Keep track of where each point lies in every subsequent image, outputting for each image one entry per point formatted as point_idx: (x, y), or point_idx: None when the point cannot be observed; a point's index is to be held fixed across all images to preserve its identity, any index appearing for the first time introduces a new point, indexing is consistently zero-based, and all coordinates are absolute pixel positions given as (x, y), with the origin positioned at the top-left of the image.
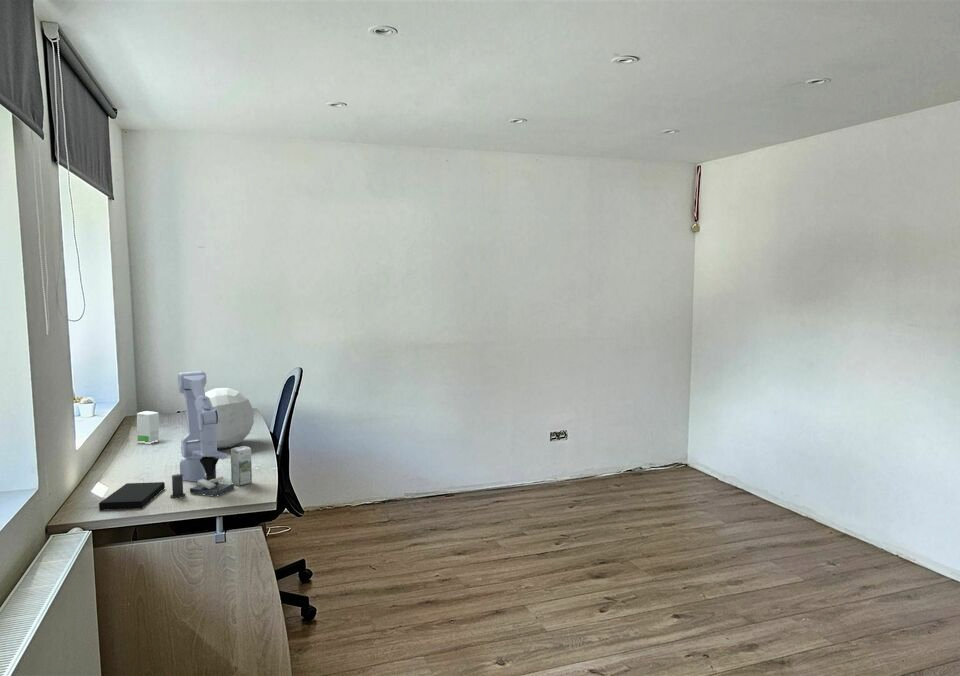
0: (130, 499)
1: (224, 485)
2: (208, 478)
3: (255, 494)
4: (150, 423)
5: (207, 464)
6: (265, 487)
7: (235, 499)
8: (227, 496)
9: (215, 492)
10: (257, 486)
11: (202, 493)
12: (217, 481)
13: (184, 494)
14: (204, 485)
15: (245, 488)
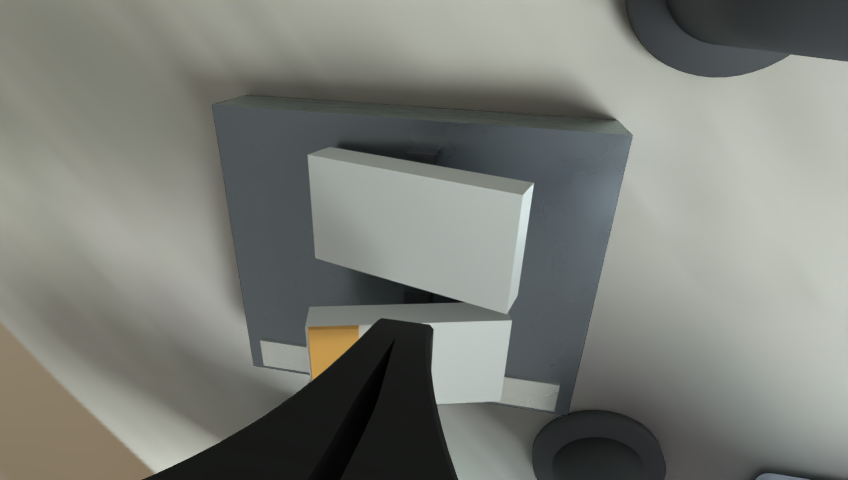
0: None
1: (298, 314)
2: (608, 474)
3: (10, 238)
4: None
5: (266, 469)
6: (98, 391)
7: (19, 69)
8: (160, 135)
9: (228, 103)
10: (165, 405)
11: (426, 111)
12: (318, 307)
13: (646, 13)
14: (394, 163)
15: (205, 357)
